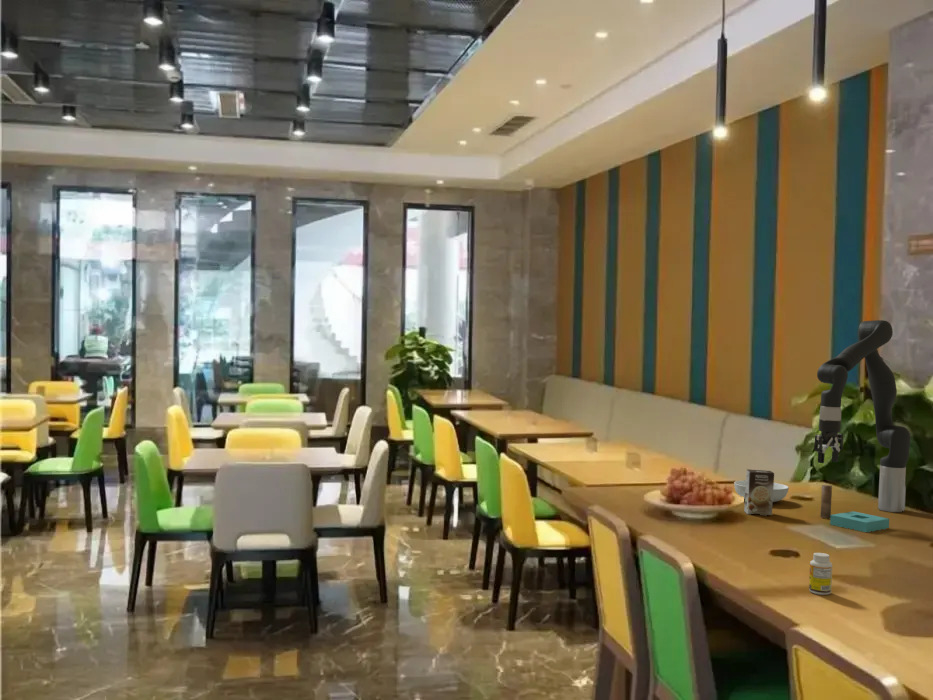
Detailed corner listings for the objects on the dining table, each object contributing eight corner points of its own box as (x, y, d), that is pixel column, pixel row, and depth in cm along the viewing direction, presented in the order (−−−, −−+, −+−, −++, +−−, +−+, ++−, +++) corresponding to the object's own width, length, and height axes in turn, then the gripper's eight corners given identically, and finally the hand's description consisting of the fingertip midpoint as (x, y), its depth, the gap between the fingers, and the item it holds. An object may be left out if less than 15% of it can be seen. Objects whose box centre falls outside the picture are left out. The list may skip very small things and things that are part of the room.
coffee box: (747, 514, 351) (749, 471, 351) (743, 511, 357) (745, 469, 357) (772, 516, 350) (774, 472, 350) (768, 512, 357) (770, 470, 356)
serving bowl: (795, 507, 369) (796, 489, 369) (741, 505, 369) (742, 488, 369) (778, 497, 390) (779, 480, 390) (727, 495, 390) (728, 478, 390)
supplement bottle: (813, 588, 254) (814, 550, 254) (834, 592, 251) (835, 554, 250) (805, 592, 250) (807, 554, 250) (826, 596, 246) (828, 558, 246)
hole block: (853, 520, 346) (853, 511, 346) (888, 528, 334) (889, 518, 334) (830, 524, 338) (830, 514, 338) (866, 532, 326) (866, 522, 326)
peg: (824, 516, 352) (825, 484, 352) (832, 518, 349) (834, 486, 349) (818, 517, 350) (819, 485, 350) (826, 519, 347) (828, 486, 347)
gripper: (832, 417, 356) (830, 459, 356) (809, 418, 347) (807, 462, 348) (850, 419, 349) (848, 462, 350) (827, 420, 341) (825, 465, 342)
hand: (827, 462), depth 349 cm, fingers open, 8 cm apart
